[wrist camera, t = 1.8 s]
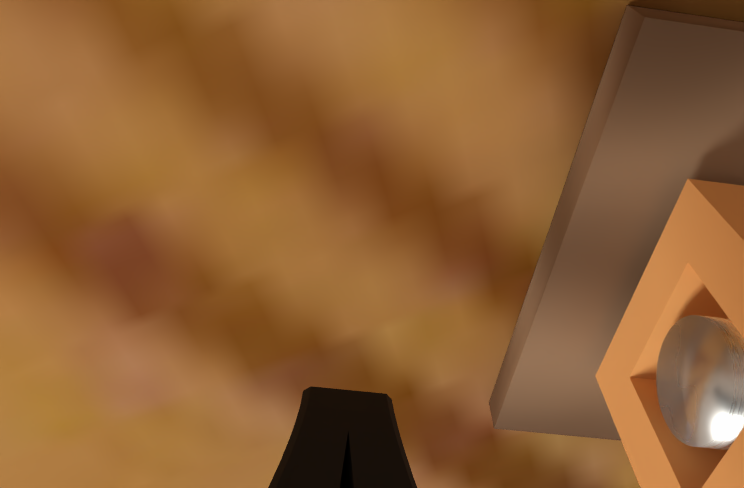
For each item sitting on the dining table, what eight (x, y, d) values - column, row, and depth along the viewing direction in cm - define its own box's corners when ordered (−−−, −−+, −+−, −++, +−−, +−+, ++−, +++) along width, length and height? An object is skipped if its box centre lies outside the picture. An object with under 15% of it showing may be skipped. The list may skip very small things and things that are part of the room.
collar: (666, 383, 17) (790, 616, 12) (595, 375, 17) (690, 609, 12) (775, 189, 14) (1009, 399, 9) (687, 178, 13) (874, 385, 8)
